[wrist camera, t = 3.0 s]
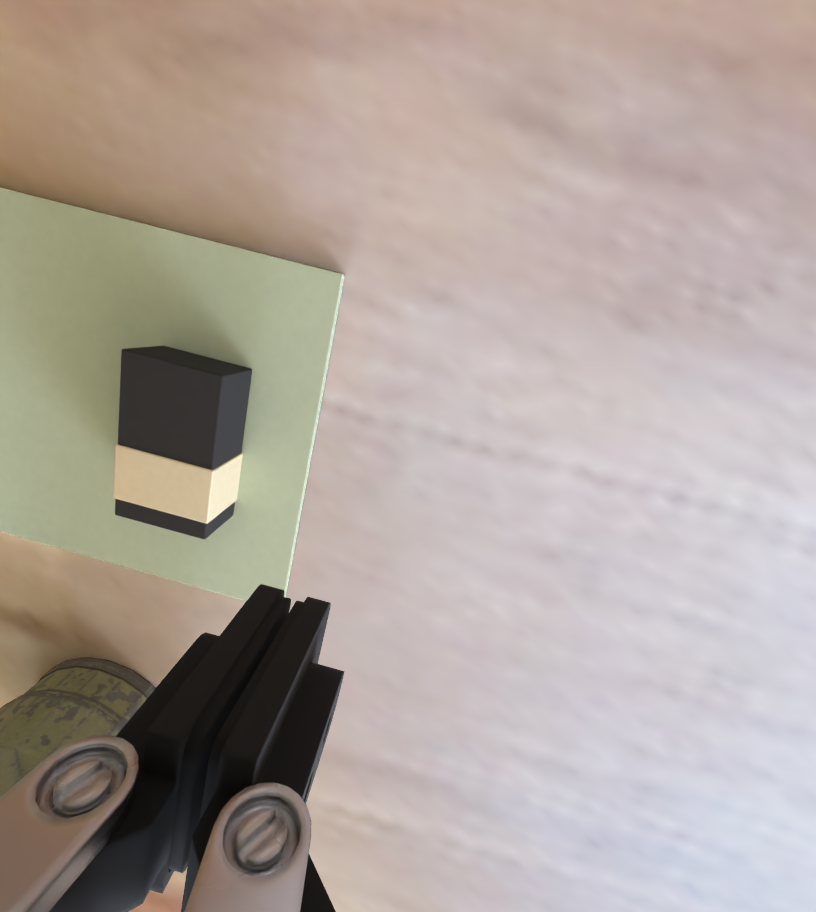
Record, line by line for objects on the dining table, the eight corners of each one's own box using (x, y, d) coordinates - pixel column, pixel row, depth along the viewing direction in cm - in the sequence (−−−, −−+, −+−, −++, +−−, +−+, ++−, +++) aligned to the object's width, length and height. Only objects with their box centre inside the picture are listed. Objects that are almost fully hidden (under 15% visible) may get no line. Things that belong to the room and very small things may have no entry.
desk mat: (-300, 111, 19) (-327, 104, 18) (345, 274, 18) (340, 273, 17) (-225, 463, 24) (-245, 467, 23) (284, 606, 23) (278, 614, 22)
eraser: (162, 344, 19) (118, 348, 16) (254, 368, 19) (224, 375, 16) (152, 492, 21) (111, 515, 19) (235, 515, 21) (205, 541, 18)
